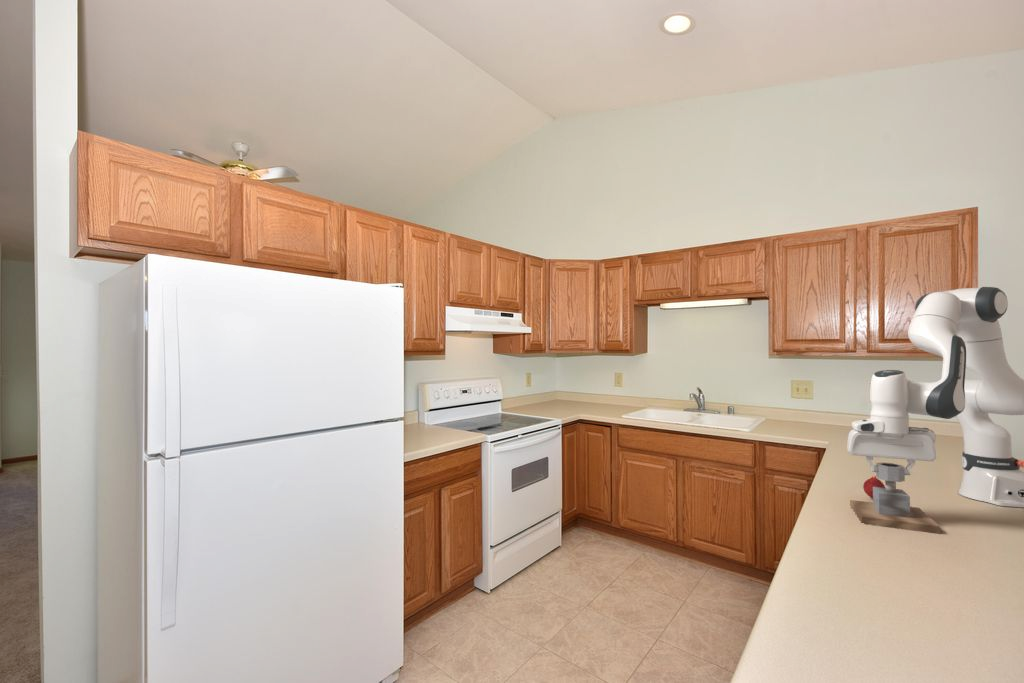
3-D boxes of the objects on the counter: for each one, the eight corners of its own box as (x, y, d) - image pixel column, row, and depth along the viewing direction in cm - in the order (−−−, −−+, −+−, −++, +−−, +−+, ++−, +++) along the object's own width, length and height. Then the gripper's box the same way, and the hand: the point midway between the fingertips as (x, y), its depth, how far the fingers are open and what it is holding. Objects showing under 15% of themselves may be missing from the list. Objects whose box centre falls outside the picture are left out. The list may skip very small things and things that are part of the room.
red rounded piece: (889, 503, 149) (889, 478, 149) (869, 502, 150) (869, 477, 151) (879, 497, 155) (879, 473, 155) (859, 496, 156) (859, 472, 156)
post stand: (919, 514, 139) (918, 474, 139) (939, 533, 125) (938, 488, 125) (850, 506, 147) (849, 468, 147) (861, 523, 132) (860, 481, 132)
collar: (900, 477, 137) (899, 463, 137) (906, 482, 132) (906, 468, 132) (874, 475, 140) (874, 461, 140) (880, 480, 134) (880, 466, 134)
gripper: (931, 426, 134) (932, 474, 134) (845, 421, 143) (846, 466, 143) (939, 430, 129) (940, 480, 128) (849, 425, 138) (850, 471, 138)
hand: (890, 473), depth 136 cm, fingers closed on collar, 6 cm apart
